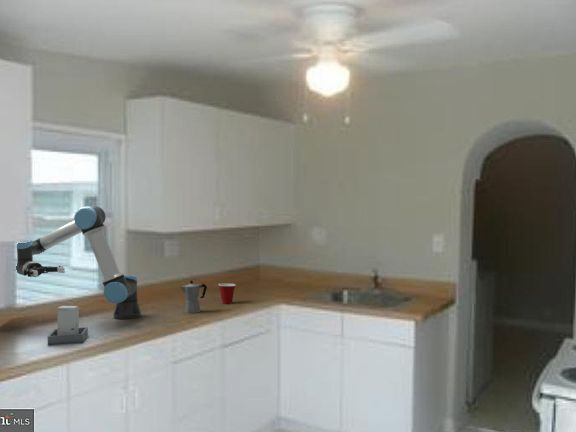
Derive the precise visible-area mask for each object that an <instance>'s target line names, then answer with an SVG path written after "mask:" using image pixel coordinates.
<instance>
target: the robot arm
mask: <svg viewBox="0 0 576 432" xmlns="http://www.w3.org/2000/svg"><path fill="white" fill-rule="evenodd" d="M106 217H107V216H106V212H105V211H104V210H103V208H102V207H100V206H97V205H94V206H93V205H92V206H89V205H85V206H82V207H80V208H78V209H77V210H76V212H75V214H74V215H73V221H71V222H68V223H67V224H65V225H63V226H61V227H59V228H57V229H55V230H53V231H51V232H49V233H47V234H45V235H43V236H42V237H40V238H37V239H35V240H33V241H32V239H31V241H30V242H27V243H18V244H17V243H16V257H17V261H16V263H17V266H16V270H17V272H16V273H17V274H18V275H21V276H24V277H28V278H29V277H30V278H32V277H33V278H37V277H40V276H41V275H42V274H48V273H59V274H65V273H66V272H65V269H66V268H65V267H64V266H63V265H62V266H61V265H58V266H53V265H52V266H50V265H47V266H45V265H42V264H41V263H39V262H36V261H34V259H33V258H34V256H35V255H41V254H42V252H43V253H45V251H47V250H49V249H51V248H53V247H55V246H57V245H59V244H61V243H63V242H65V241H67V240H69V239H71V238H74V237H75V236H77V235H79V234H81V233H82V235H83V236H85V237H87V239H88V242H89V245H90V247H91V250H92V252H93V255H94V257H95V259H96V262H97V264H98V267H99V270H100V272H101V274H102V277H103V280H102V285H103V288H104V289H103V296H104V298H105V300H106V301H108V303H111V304H115V307H114V310H113V314H112V315H113V316H112V317H113V318H114V319H117V320H131V319H136V318H137V319H138V318H139V317H142V310H141V307H140V304H139V299H138V278H137V276H136V275H125V274H124V273H122V272H120V269H119V268H118V265H117V263H116V260H115V258H114V254H113V253H112V250H111V247H110V245H109V242H108V241H107V238H106V235H105V233H104V229H105V224H104V223H105V222H106ZM40 253H41V254H40ZM16 270H15V271H16Z"/></svg>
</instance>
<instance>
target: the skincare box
mask: <svg viewBox="0 0 576 432" xmlns="http://www.w3.org/2000/svg"><path fill="white" fill-rule="evenodd" d="M79 309H80V307H79V306H78V305H61V306H58V307H57V318H56V319H57V325H56V327H57V328H56V329H57V336H59V335H74V334H79V328H80V327H79V326H80V325H79V324H80V323H79V322H80V321H79V320H80V319H79V317H80V315H79V313H80V312H79V311H80V310H79Z"/></svg>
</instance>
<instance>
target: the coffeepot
mask: <svg viewBox="0 0 576 432" xmlns="http://www.w3.org/2000/svg"><path fill="white" fill-rule="evenodd" d="M189 282H190V283H189V284H186V285H183V286H180V287H179V288H180V289H181V290H182V291H183V293H184V298H185V304H184V313H185V314H197V313H200V312H201V306H200V303H199V302H200V301H199V298H200V299H203V298H205V294H206V291H207V289H208V287H207V285H206V284H205V283H198V284H196V283H193V282H194V281H193V280H190V281H189ZM200 288H203V290H202V294H201V295H202V296H200V297H199V295H200Z"/></svg>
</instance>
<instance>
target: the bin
mask: <svg viewBox="0 0 576 432" xmlns="http://www.w3.org/2000/svg"><path fill="white" fill-rule="evenodd" d="M88 333H89V331H88V326H85V327H79V334H74V335H59V336H57V328H56V329H53V330H52V331H51V332H50V333H49V335H48V336H47V346H58V345H59V346H61V345H72V344H83V343H84V342H85V341H86V339H87V337H88V336H89V334H88Z"/></svg>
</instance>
